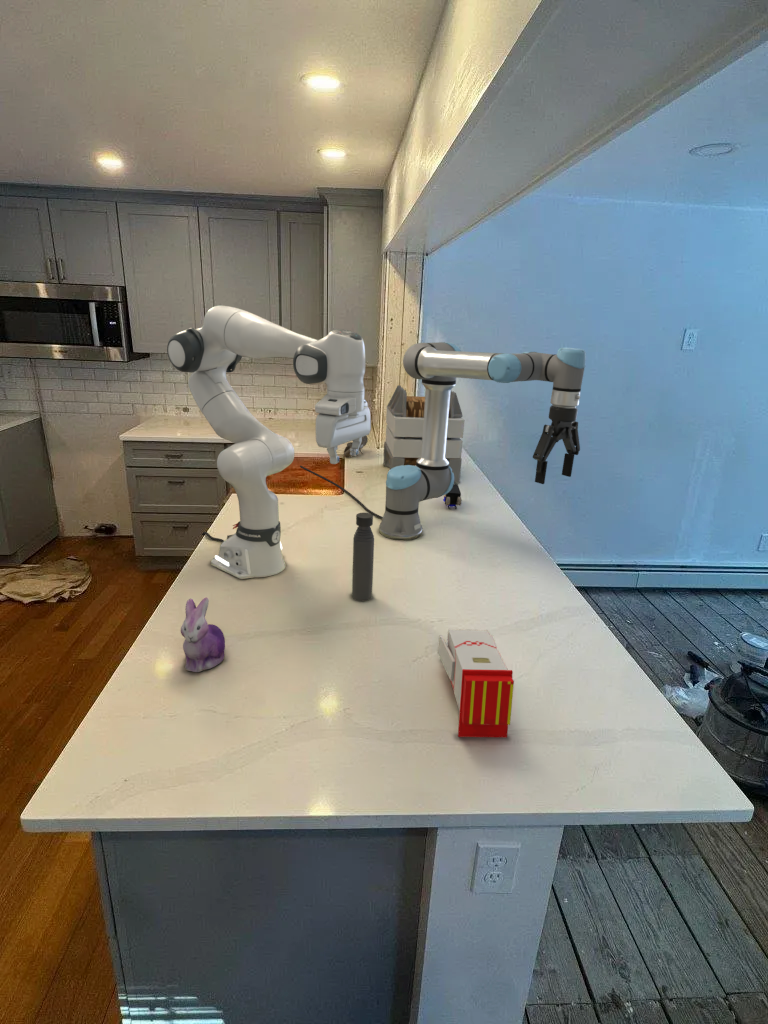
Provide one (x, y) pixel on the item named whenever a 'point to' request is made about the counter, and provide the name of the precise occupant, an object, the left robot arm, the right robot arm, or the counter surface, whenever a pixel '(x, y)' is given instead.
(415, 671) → the counter surface
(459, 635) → the toy
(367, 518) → the cap
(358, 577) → the bottle
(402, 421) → the white wooden crate
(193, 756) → the counter surface
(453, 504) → the figurine character
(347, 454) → the grey lumpy piece
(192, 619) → the figurine
